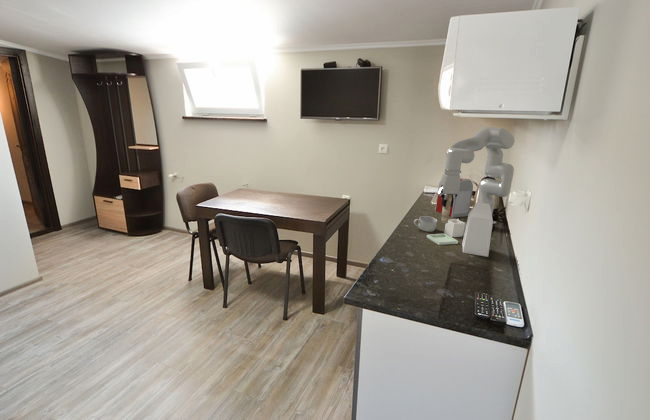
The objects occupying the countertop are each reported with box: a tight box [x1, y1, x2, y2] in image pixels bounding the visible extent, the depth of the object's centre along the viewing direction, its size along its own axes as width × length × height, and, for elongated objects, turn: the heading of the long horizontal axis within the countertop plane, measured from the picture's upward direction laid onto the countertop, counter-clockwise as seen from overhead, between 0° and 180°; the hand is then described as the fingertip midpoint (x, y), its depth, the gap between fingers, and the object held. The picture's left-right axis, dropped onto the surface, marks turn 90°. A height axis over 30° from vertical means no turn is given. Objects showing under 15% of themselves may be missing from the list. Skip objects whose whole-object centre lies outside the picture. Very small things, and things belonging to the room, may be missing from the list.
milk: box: [461, 202, 494, 258], centre depth 168 cm, size 12×12×26 cm
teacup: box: [413, 215, 438, 233], centre depth 198 cm, size 14×11×8 cm
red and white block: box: [434, 176, 474, 219], centre depth 236 cm, size 17×18×27 cm
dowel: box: [440, 194, 452, 224], centre depth 177 cm, size 4×4×16 cm
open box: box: [443, 218, 466, 238], centre depth 192 cm, size 8×8×9 cm
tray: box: [426, 233, 459, 246], centre depth 183 cm, size 12×12×2 cm
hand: (447, 205), depth 177 cm, fingers closed on dowel, 3 cm apart
